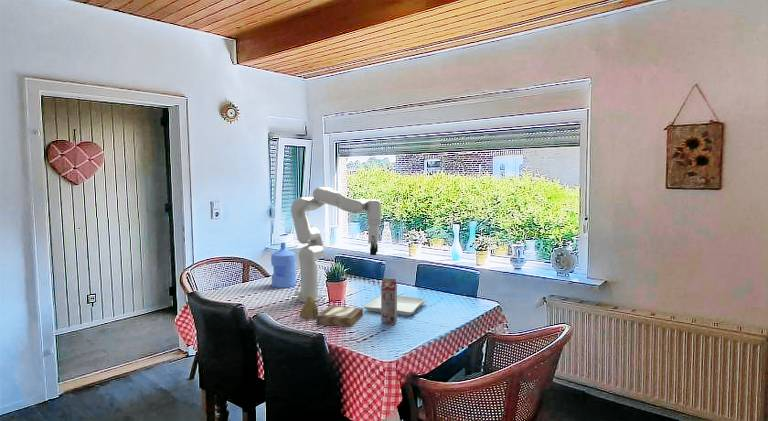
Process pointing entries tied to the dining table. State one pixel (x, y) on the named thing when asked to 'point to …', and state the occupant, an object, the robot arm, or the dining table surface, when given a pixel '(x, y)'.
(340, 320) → the stand
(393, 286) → the juice carton
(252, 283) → the dining table surface
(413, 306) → the square plate
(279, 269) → the water jug
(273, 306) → the dining table surface
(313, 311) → the rock
